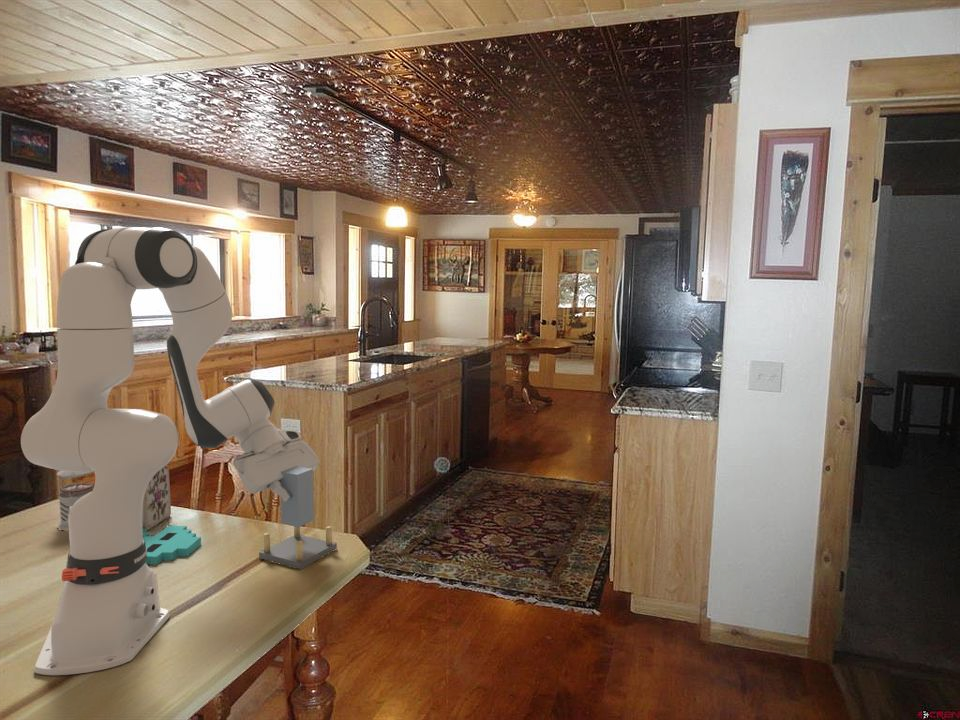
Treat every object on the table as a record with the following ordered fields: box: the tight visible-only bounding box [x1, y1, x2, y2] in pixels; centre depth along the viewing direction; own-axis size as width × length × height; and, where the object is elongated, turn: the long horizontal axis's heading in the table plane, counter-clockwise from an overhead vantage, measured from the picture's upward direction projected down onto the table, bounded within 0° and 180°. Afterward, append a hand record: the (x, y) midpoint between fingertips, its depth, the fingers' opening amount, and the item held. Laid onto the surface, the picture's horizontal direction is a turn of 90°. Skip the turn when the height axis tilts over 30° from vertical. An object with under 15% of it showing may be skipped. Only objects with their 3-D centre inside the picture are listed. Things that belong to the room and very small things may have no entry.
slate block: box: [280, 466, 315, 528], centre depth 141 cm, size 5×5×12 cm
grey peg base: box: [258, 525, 338, 570], centre depth 142 cm, size 12×12×6 cm
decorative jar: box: [142, 464, 172, 532], centre depth 159 cm, size 12×12×18 cm
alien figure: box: [142, 525, 202, 565], centre depth 144 cm, size 20×2×20 cm
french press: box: [56, 470, 94, 531], centre depth 159 cm, size 10×12×25 cm
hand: (299, 494), depth 140 cm, fingers closed on slate block, 5 cm apart
